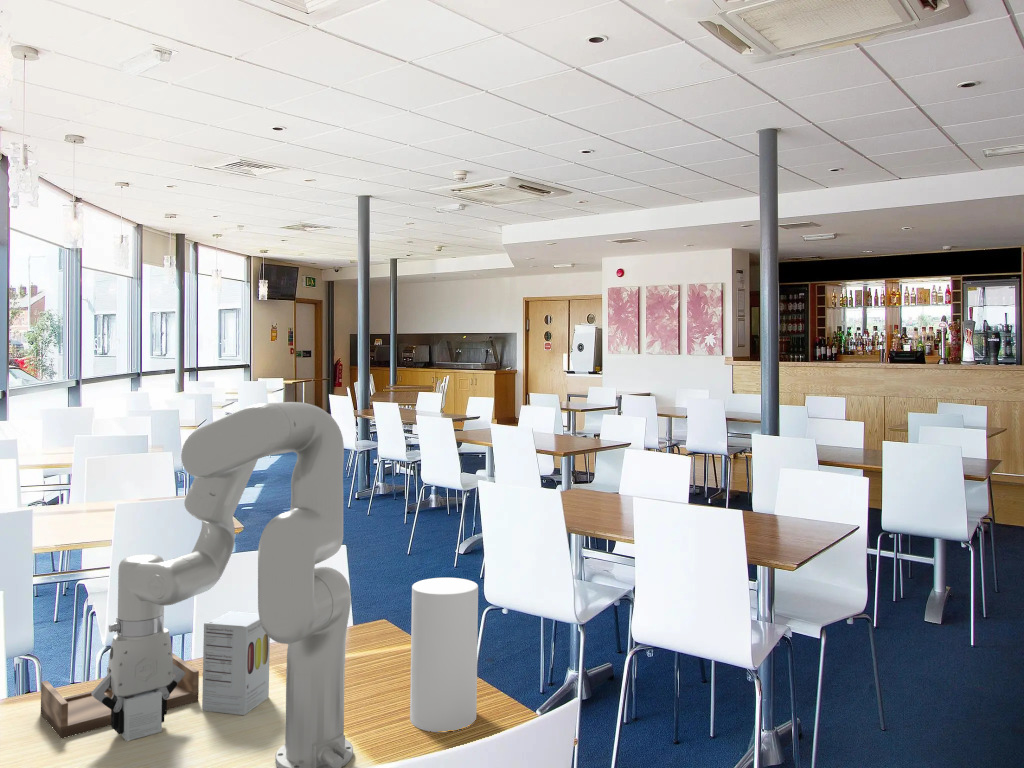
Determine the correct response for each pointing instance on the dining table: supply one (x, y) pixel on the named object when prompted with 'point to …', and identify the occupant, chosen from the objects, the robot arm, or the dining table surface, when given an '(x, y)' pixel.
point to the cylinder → (444, 654)
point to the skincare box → (142, 714)
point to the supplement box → (235, 663)
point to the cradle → (92, 714)
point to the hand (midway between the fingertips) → (139, 724)
